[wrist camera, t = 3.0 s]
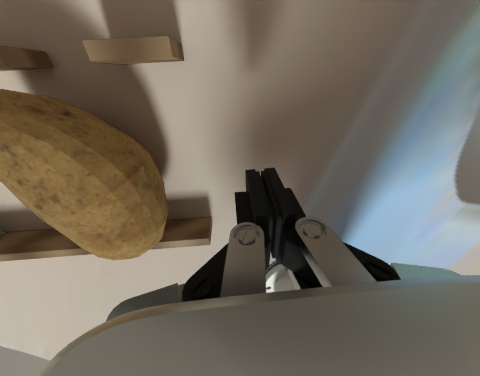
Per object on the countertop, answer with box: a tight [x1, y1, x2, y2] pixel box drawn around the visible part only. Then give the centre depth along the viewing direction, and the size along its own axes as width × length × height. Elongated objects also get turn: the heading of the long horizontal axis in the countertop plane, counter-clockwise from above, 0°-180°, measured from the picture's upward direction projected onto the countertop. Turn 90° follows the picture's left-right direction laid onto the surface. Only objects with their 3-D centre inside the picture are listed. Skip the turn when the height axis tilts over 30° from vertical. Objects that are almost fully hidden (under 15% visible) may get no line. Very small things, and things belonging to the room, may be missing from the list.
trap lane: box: [0, 36, 212, 261], centre depth 16 cm, size 26×18×4 cm
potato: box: [0, 89, 168, 260], centre depth 15 cm, size 10×14×8 cm
